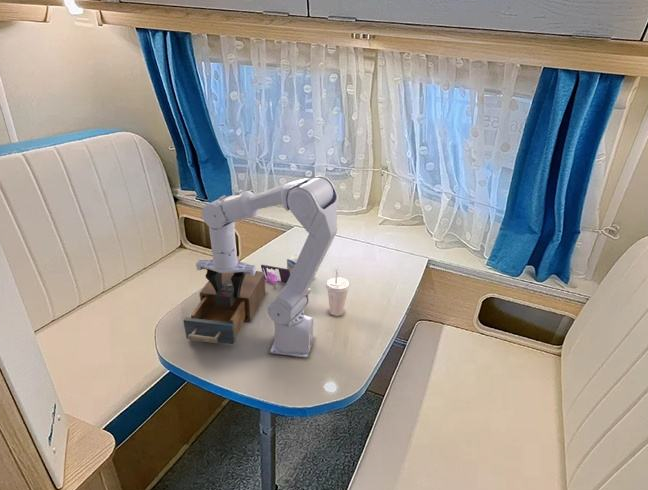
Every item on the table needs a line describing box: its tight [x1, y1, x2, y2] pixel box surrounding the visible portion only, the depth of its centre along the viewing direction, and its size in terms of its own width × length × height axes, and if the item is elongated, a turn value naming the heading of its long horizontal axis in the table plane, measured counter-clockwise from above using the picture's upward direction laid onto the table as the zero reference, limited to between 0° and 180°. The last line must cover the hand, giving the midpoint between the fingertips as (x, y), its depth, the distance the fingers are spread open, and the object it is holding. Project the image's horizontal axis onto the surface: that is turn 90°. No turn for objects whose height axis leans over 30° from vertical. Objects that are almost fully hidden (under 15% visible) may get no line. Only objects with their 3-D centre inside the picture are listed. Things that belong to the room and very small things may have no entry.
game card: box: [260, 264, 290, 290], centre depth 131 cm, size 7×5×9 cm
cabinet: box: [199, 270, 266, 323], centre depth 121 cm, size 15×14×8 cm
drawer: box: [183, 296, 247, 346], centre depth 110 cm, size 18×12×6 cm
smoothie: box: [326, 268, 351, 317], centre depth 119 cm, size 6×6×14 cm
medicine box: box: [286, 252, 301, 274], centre depth 134 cm, size 8×4×9 cm, turn 141°
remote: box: [215, 280, 241, 306], centre depth 110 cm, size 4×8×3 cm, turn 172°
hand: (228, 295), depth 110 cm, fingers closed on remote, 4 cm apart
